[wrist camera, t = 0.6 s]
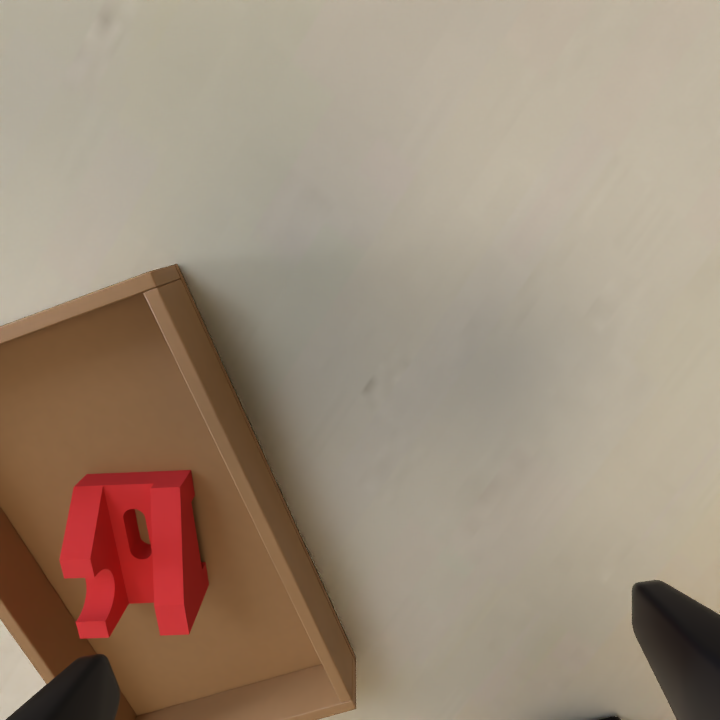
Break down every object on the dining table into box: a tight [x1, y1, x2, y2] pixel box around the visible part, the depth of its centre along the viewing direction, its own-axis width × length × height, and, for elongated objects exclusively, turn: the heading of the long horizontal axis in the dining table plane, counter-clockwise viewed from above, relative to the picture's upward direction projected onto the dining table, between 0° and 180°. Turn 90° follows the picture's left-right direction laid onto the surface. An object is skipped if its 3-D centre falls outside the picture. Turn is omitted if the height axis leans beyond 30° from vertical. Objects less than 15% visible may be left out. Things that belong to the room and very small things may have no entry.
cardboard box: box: [0, 264, 356, 720], centre depth 22 cm, size 22×13×3 cm, turn 19°
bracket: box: [59, 470, 209, 639], centre depth 22 cm, size 6×5×3 cm
